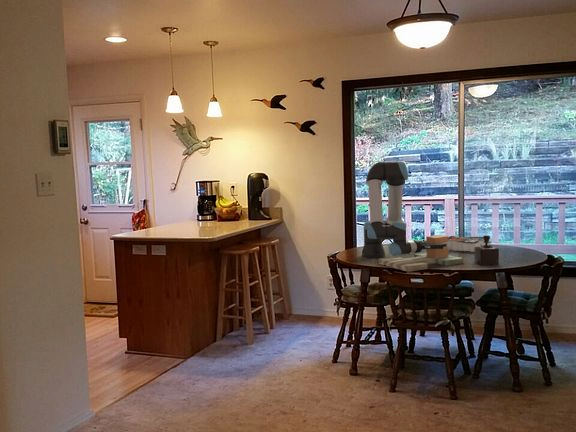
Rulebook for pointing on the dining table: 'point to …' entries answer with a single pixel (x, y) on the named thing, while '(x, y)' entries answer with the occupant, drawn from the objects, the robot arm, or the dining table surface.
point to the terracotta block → (437, 240)
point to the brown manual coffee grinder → (486, 253)
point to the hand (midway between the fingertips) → (441, 243)
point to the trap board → (419, 262)
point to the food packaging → (464, 243)
